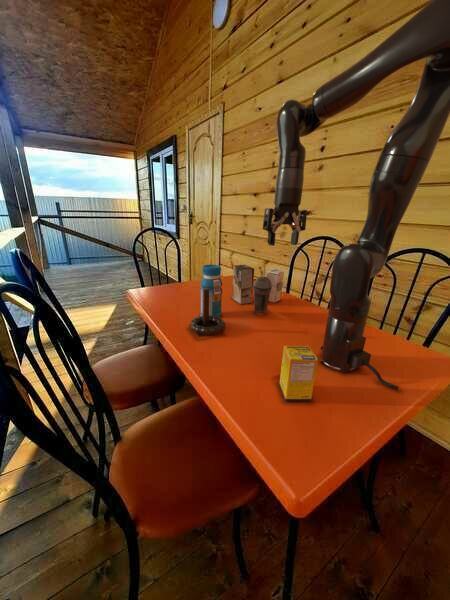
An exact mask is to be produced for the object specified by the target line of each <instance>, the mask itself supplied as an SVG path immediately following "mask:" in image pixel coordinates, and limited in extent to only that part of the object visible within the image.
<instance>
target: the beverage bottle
mask: <svg viewBox="0 0 450 600" xmlns="http://www.w3.org/2000/svg"><path fill="white" fill-rule="evenodd" d="M221 270H222V268H221V266H220V265H218V264H204V265H203V266H202V276H203V277H202V278H201V280H200V289H199V293H200V313H199V314H200V316H203V288H209V316H215V317H218V318H219V317H221V315H222V299H223V288H222V286H223V281H222V280H221V278H220V276H221V273H222V271H221Z"/></svg>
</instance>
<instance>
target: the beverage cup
mask: <svg viewBox="0 0 450 600" xmlns="http://www.w3.org/2000/svg"><path fill="white" fill-rule="evenodd" d="M265 274H266V266H265V265H264V266H263V271H262V276H258V277H257V278H256V279H255V281H254V282H253V297H254V299H253V300H254V301H253V302H254V304H253V306H254V307H253V308H254V312H255V313H257V314H265V313H267V311H268V305H269V301H268V300H269V295H270V291H271V288H272V285H271V281H270V280H269V279H268V278H267V276H265Z"/></svg>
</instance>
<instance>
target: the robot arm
mask: <svg viewBox="0 0 450 600" xmlns="http://www.w3.org/2000/svg"><path fill="white" fill-rule="evenodd" d="M423 59H425V62H424V63H425V64H424V67H423V69H422V70H423V71H422V74H421V77H420V80H419V82H418V85H417V88H416V91H415V93H414V96H413V98H412V101H411V103H410V105H409V107H408V108H407V110H406V112H405V113H404V114H403V115H402V117H401V118H400V120H399V122H398V123H397V124H396V126H395V127H394V129H392V132H391V133H390V135H388V138H387V139H386V140H385V142H384V145H383V146H382V149H381V151H380V153H379V155H378V158H377V161H376V164H375V166H374V168H373V172H372V175H371V178H370V182H369V188H368V199H367V213H366V214H367V215H366V218H365V222H364V225H363V227H362V230H361V231H360V234H359V236H358V238H357V240H356V242H354V243H348V244H346V245H343V246H342V247H341V248H340V249H339V250H338V251H337V253H336V254H335V256H334V260H333V262H332V269H331V275H330V284H329V294H330V297H331V298H330V303H329V307H328V308H329V309H328V313H327V314H328V315H327V320H326V324H325V331H324V336H323V341H322V345H321V347H320V350H321V352H320V358H321V363H322V364H323V365H324V366H325V367H327V368H329V369H331V370H333V371H336V372H339V373H342V374H347V373H350V372H353V371H356V370H359V369H360V368H361V367H364V366H365V367H367V368H368V369H369V370H370V371H372V372H373V373H374V375H375V376H376V378H377V380H378V381H379V382H380V383H381V384H382V385H384V386H385V387H388V388H390V389H393V390H396V391H398V390H399V388H400V387H399V386H398V385H396V384H392V383H389V382H387V381H386V380H385V379H383V378H382V376H381V373H379V371H378V370H377V369H376V368H375V367H374V366H372V364H370V361H371V357H372V354H371V353H369V352H367V351H366V350H365V346H366V342H367V337H366V336H364V333H365V329H366V326H367V325H366V324H367V321H368V317H369V312H370V310H371V309H370V308H371V304H372V299H371V297H370V296H369V294H368V293H369V287H370V281H371V279H372V278H374V277H376V276H377V275H378V274H379V273H381V271H383V269H384V267H385V265H386V262H387V260H388V257H389V254H390V250H391V247H392V245H393V242H394V239H395V235H396V234H397V230H398V229H399V226H400V223H401V221H402V220H403V218H404V216H405V213H406V212H407V210H408V208H409V206H410V203H411V201H412V199H413V197H414V195H415V193H416V191H417V188H418V187H419V185H420V183H421V182H422V179H423V177H424V175H425V173H426V171H427V168H428V166H429V164H430V162H431V160H432V157H433V154H434V152H435V149H436V147H437V145H438V142H439V140H440V138H441V136H442V134H443V132H444V129H445V127H446V124H447V121H448V119H449V117H450V0H431V1H429V3H427V4H426V5H424V6H423V8H421V9H420V10H419V11H418V12H416V13H415V14H414V15H413V16H412V17H410V18H409V20H407V21H406V22H405V23H404V24H403V25H401V26H400V27H399V28H397V29H396V30H395V31H394V32H393V33H392V34H390V35H389V36H388V37H386V39H384V40H383V41H382V42H381V43H380V44H379V45H377V46H376V47H375V48H373V49H372V50H371V51H370V52H369V53H367V54H366V55H365V56H364V57H361V59H360V60H358V61H357V62H356V63H354V64H353V65H351V66H350V67H348V68H346V69H345V70H343V71H342V72H340V73H339V74H338V75H336V76H334V77H333V78H331V79H330V80H328V81H326V82H324V83H323V84H322V85H321V86H319V87H317V88H316V90H315V91H314V93H313V95H312V98H311V103H309V104H305V103H302V102H300V101H299V100H297V99H288V100H287V101H285V102H284V103H283V104H282V105H281V107H280V109H279V110H278V113H277V118H276V134H277V136H276V137H277V141H278V150H279V151H278V152H279V157H278V166H277V174H276V179H275V190H274V201H273V203H274V209H273V208H272V207H267V208H264V214H263V221H262V230H264V231H266V232H267V241H266V242H267V244H268V246H270V247H272V246H275V245H276V235H277V233H276V231H278V229H279V228H280V227H281V226H282V225H283V226H285V225H288V226H289V227H290V228H291V236H290V245H291V246H292V245H293V246H297V245H298V243H299V238H300V233H301V232H303V231H305V230H306V228H307V217H308V211H307V209H299V207H300V205H301V204H302V196H303V190H304V189H303V188H304V179H305V175H304V173H305V166H306V165H305V163H306V154H307V150H306V147H305V146H304V145H303V143H302V142H301V138H304V137H307V136H309V135H311V134H312V133H314V132H315V131H317V129H319V128H320V127H321V126H323V124H325V123H326V122H327V121H328V120H330V119H332V118H334V117H335V116H337V115H339V114H342V113H343V112H345V111H347V110H349V109H350V108H352V107H354V106H355V105H357V104H358V103H360V102H361V101H363V100H364V98H366V97H367V96H368V95H369V94H370V93H371V92H372V91H373V90H374V89H375V88H377V87H378V86H379V84H381V83H382V82H383V81H384V80H386V79H387V78H388V77H390V76H392V75H393V74H395V73H396V72H398V71H399V70H401V69H403V68H404V67H407V66H410V65H411V64H413V63H416V62H418V61H421V60H423Z"/></svg>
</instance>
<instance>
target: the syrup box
mask: <svg viewBox="0 0 450 600" xmlns="http://www.w3.org/2000/svg"><path fill="white" fill-rule="evenodd" d="M284 275H285V271H284V270H281V269H277V268H273V269H269V270H267V271H266V277H267V278H268V279H269V280H270V281H271V285H272V288H271V291H270V295H269V300H268V302H270V303H274V304H275V303H277V302H280V301H281V297H282V291H283V282H284Z"/></svg>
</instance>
